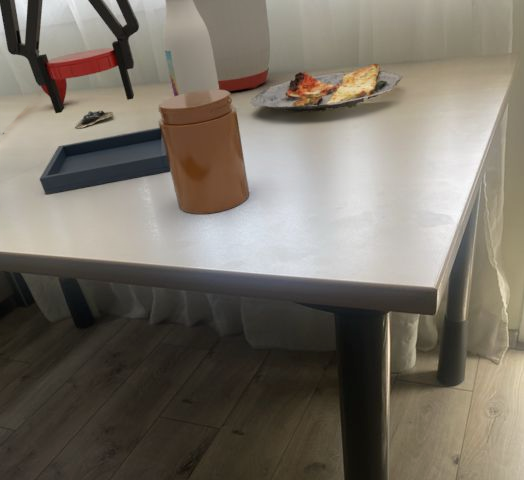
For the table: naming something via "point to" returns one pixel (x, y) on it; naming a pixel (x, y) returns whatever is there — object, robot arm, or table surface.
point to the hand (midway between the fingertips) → (95, 103)
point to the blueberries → (93, 118)
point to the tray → (105, 161)
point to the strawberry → (61, 88)
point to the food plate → (327, 90)
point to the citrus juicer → (237, 41)
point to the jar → (204, 151)
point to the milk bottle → (188, 49)
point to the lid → (81, 63)
